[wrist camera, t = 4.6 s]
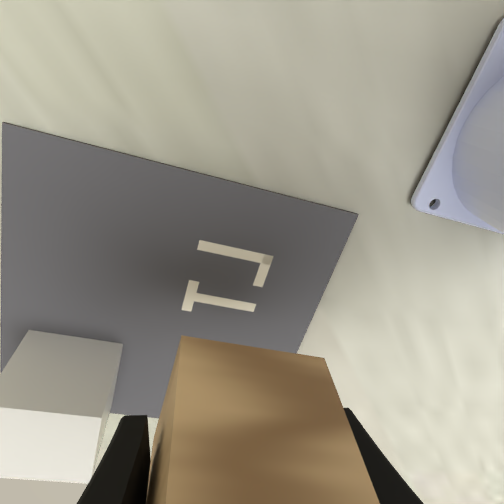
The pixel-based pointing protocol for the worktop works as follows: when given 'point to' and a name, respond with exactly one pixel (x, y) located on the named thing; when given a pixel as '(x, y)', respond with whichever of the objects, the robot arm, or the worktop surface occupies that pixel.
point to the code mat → (153, 258)
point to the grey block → (56, 406)
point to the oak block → (253, 431)
